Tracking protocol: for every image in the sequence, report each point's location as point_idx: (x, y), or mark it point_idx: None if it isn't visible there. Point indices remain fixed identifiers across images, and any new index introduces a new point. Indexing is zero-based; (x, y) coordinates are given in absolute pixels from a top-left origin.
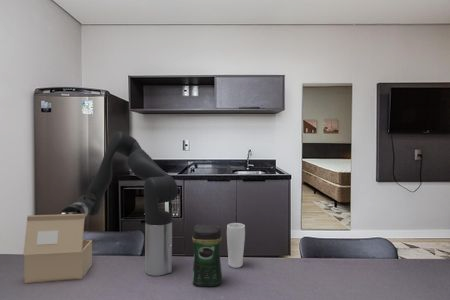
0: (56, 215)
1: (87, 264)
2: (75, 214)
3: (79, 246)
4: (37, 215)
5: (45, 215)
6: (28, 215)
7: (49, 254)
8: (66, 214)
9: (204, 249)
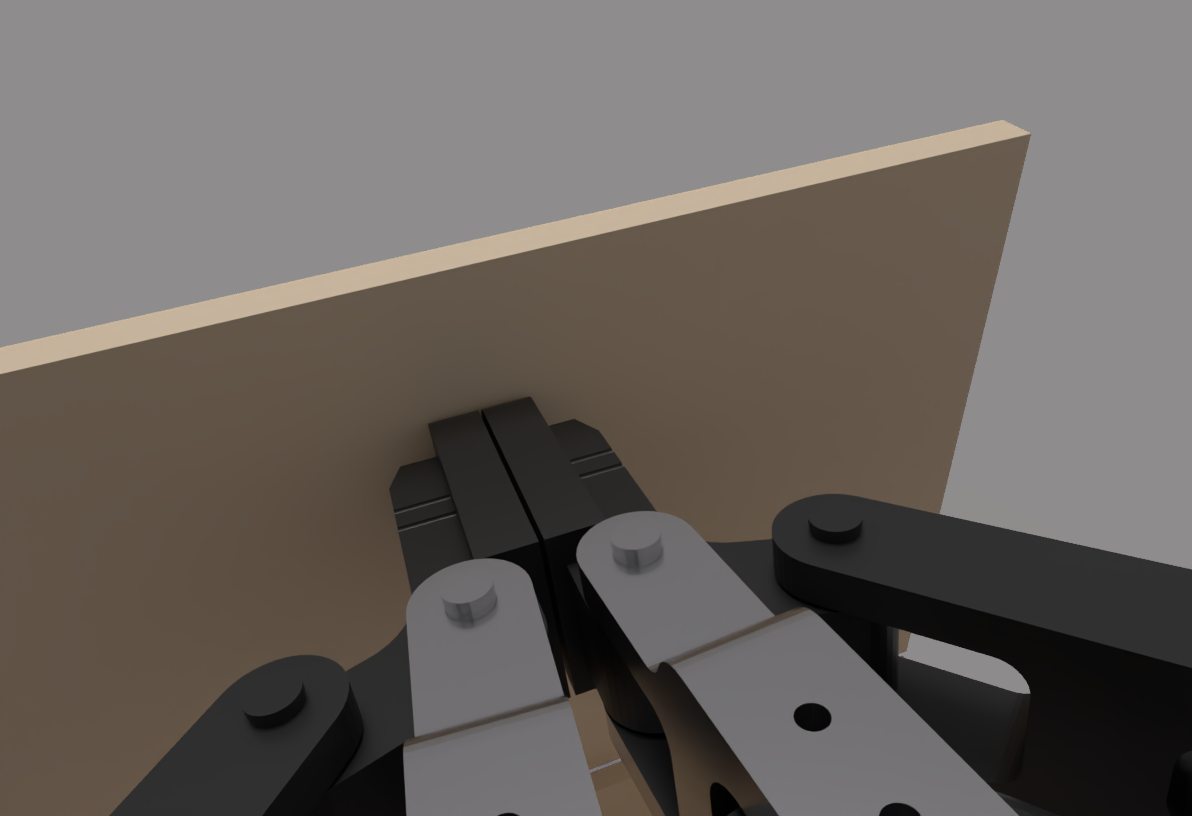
0: (438, 267)
1: None
2: None
3: None
4: (827, 165)
5: (672, 205)
6: (990, 124)
7: (606, 775)
8: (188, 309)
9: None
